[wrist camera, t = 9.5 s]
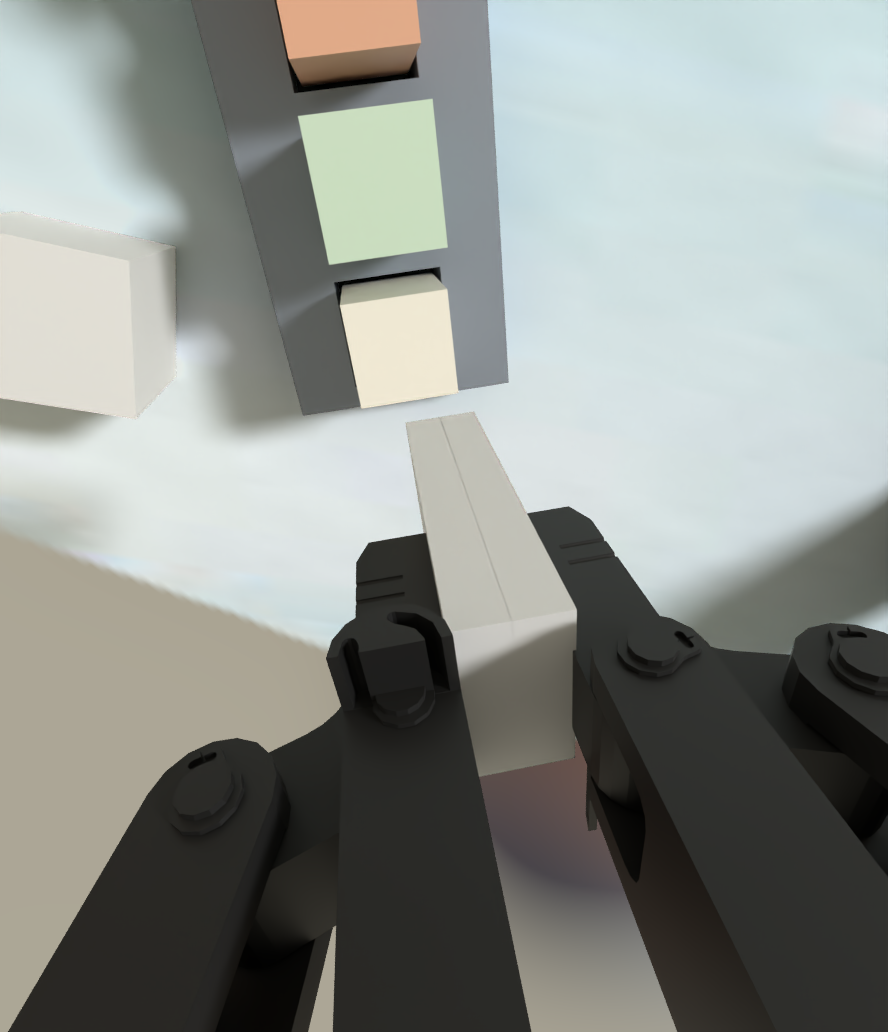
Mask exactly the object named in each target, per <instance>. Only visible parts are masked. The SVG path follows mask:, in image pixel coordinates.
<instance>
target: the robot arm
mask: <svg viewBox="0 0 888 1032" xmlns="http://www.w3.org/2000/svg"><path fill="white" fill-rule="evenodd" d="M406 429H407V435H408V441H409V447H410V453H411V459H412V465H413V471H414V477H415V483H416V489H417V495H418V501H419V507H420V513H421V519H422V525H423V531H424V533H423V534H417V535H411V536H405V537H400V538H394V539H388V540H382V541H376V542H371V543H368V545H367V546H366V548H365V550H364V551H363V553H362V554H361V556H360V557H359V559H358V561H357V562H356V585H357V587H356V604H357V605H356V618H355V619H353V620H352V621H350V622H349V623H347V624H346V625H345V626H344V627H343V628H342V629H341V630H340V632H339V633H338V634H337V635H336V636H335V637H334V638H333V640H332V642H331V645H330V648H329V651H328V654H327V657H326V660H327V663H328V666H329V669H330V672H331V676H332V678H333V681H334V685H335V688H336V691H337V694H338V697H339V700H340V703H341V707H340V709H339V710H338V711H337V712H336V713H335V714H334V715H333V716H332V717H331V718H330V719H329V720H327V721H326V722H325V723H324V724H323V725H321V726H320V727H318V728H316V729H315V730H313V731H311V732H310V733H308V734H306V735H304V736H302V737H300V738H298V739H296V740H294V741H292V742H290V743H288V744H286V745H284V746H282V747H279V748H278V749H275V750H274V751H272V752H269V753H268V752H267V751H266V750H265V749H264V748H263V747H261V746H260V745H259V744H258V743H257V742H252V741H248V740H243V739H239V738H235V739H228V740H222V741H216V742H212V743H210V744H208V745H205V746H203V747H201V748H199V749H197V750H195V751H192V752H190V753H188V754H187V755H186V756H185V757H183V758H182V759H181V760H180V761H178V762H177V763H176V764H174V765H173V766H172V767H171V768H169V769H168V770H167V771H166V772H165V773H164V774H163V775H162V777H161V778H160V779H159V781H158V782H157V783H156V785H155V786H154V787H153V788H152V790H151V791H150V792H149V793H148V795H147V796H146V798H145V800H144V801H143V803H142V805H141V807H140V809H139V810H138V812H137V814H136V815H135V817H134V818H133V820H132V822H131V824H130V825H129V827H128V829H127V830H126V832H125V834H124V835H123V837H122V839H121V841H120V842H119V844H118V846H117V847H116V849H115V851H114V853H113V854H112V856H111V858H110V859H109V861H108V863H107V864H106V866H105V868H104V870H103V871H102V873H101V875H100V876H99V878H98V880H97V881H96V883H95V885H94V887H93V888H92V890H91V892H90V894H89V895H88V897H87V898H86V900H85V902H84V904H83V905H82V907H81V909H80V911H79V912H78V914H77V916H76V917H75V919H74V920H73V922H72V924H71V926H70V927H69V929H68V931H67V932H66V934H65V936H64V937H63V939H62V941H61V943H60V944H59V946H58V948H57V949H56V951H55V953H54V955H53V956H52V958H51V960H50V961H49V963H48V965H47V966H46V968H45V970H44V972H43V973H42V975H41V977H40V978H39V980H38V982H37V984H36V985H35V987H34V989H33V990H32V992H31V994H30V995H29V997H28V999H27V1001H26V1002H25V1004H24V1006H23V1007H22V1009H21V1011H20V1012H19V1014H18V1016H17V1017H16V1019H15V1021H14V1023H13V1024H12V1026H11V1028H10V1029H9V1031H8V1032H308V1030H309V1025H310V1021H311V1017H312V1013H313V1009H314V1004H315V1000H316V996H317V992H318V988H319V983H320V979H321V975H322V970H323V966H324V962H325V958H326V954H327V949H328V945H329V941H330V937H331V933H332V929H333V927H334V926H336V951H335V981H334V982H335V983H334V1012H333V1032H531V1028H530V1023H529V1018H528V1013H527V1008H526V1004H525V999H524V994H523V989H522V984H521V979H520V975H519V970H518V965H517V960H516V955H515V950H514V945H513V941H512V935H511V930H510V926H509V921H508V916H507V911H506V906H505V902H504V896H503V891H502V887H501V882H500V877H499V873H498V867H497V862H496V858H495V852H494V848H493V843H492V838H491V833H490V828H489V823H488V819H487V814H486V809H485V804H484V799H483V794H482V789H481V784H480V780H479V777H480V776H485V775H490V774H495V773H500V772H505V771H510V770H516V769H521V768H526V767H531V766H536V765H541V764H546V763H552V762H557V761H561V760H567V759H572V758H575V736H576V738H577V741H578V743H579V746H580V748H581V750H582V753H583V756H584V758H585V761H586V763H587V791H586V793H587V794H586V818H587V825H588V830H589V831H591V830H596V829H597V819H598V822H599V824H600V827H601V830H602V832H603V835H604V838H605V840H606V843H607V846H608V848H609V851H610V854H611V856H612V859H613V862H614V864H615V867H616V870H617V872H618V875H619V878H620V880H621V883H622V886H623V888H624V891H625V894H626V896H627V899H628V902H629V904H630V907H631V910H632V912H633V915H634V917H635V920H636V923H637V926H638V928H639V931H640V934H641V936H642V939H643V941H644V944H645V947H646V950H647V952H648V955H649V957H650V960H651V963H652V966H653V968H654V971H655V974H656V976H657V979H658V981H659V984H660V986H661V990H662V992H663V995H664V998H665V1000H666V1003H667V1006H668V1008H669V1011H670V1013H671V1016H672V1019H673V1021H674V1024H675V1027H676V1029H677V1032H888V634H886V633H884V632H880V631H877V630H873V629H869V628H865V627H862V626H858V625H849V624H832V623H829V624H824V625H820V626H815V627H811V628H808V629H807V630H805V631H804V632H803V633H802V634H800V635H799V636H798V637H797V638H796V639H795V642H794V645H793V649H792V652H791V655H783V654H768V653H754V652H739V651H731V650H724V649H717V648H713V647H710V645H709V644H708V643H707V642H706V641H705V640H704V639H703V638H702V637H701V636H699V635H698V634H697V633H696V632H695V631H694V630H693V629H692V628H690V627H688V626H686V625H684V624H682V623H680V622H677V621H675V620H673V619H671V618H667V617H662V616H659V615H658V613H657V612H656V611H655V609H654V608H653V606H652V605H651V604H650V602H649V601H648V599H647V598H646V596H645V595H644V594H643V592H642V591H641V589H640V588H639V587H638V585H637V584H636V582H635V581H634V580H633V578H632V577H631V575H630V574H629V573H628V571H627V570H626V568H625V567H624V565H623V564H622V563H621V561H620V560H619V558H618V557H615V555H614V551H613V550H612V549H611V547H610V546H609V544H608V543H607V542H606V541H604V537H603V536H602V534H601V533H600V532H599V530H598V529H597V527H596V526H595V525H594V523H593V522H592V520H591V519H589V518H587V517H586V516H584V515H582V514H581V513H579V512H577V511H576V510H574V509H572V508H570V507H569V506H568V507H562V508H557V509H551V510H545V511H539V512H533V513H526V511H525V509H524V507H523V505H522V503H521V501H520V499H519V497H518V495H517V494H516V492H515V490H514V488H513V486H512V484H511V482H510V480H509V478H508V476H507V474H506V472H505V471H504V469H503V467H502V465H501V463H500V461H499V459H498V457H497V455H496V453H495V451H494V449H493V448H492V446H491V444H490V442H489V440H488V438H487V436H486V434H485V432H484V430H483V428H482V426H481V424H480V423H479V421H478V419H477V417H476V415H475V413H474V412H469V413H463V414H457V415H450V416H444V417H438V418H432V419H426V420H419V421H413V422H407V423H406Z"/></svg>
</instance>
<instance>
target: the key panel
mask: <svg viewBox="0 0 888 1032" xmlns="http://www.w3.org/2000/svg"><path fill="white" fill-rule="evenodd" d="M191 2H192V5H193V9H194V13H195V17H196V20H197V24H198V28H199V31H200V35H201V39H202V43H203V46H204V50H205V54H206V57H207V61H208V65H209V68H210V72H211V76H212V80H213V83H214V87H215V91H216V94H217V98H218V102H219V106H220V109H221V113H222V117H223V120H224V124H225V128H226V132H227V135H228V139H229V143H230V146H231V150H232V154H233V157H234V161H235V165H236V169H237V172H238V176H239V180H240V183H241V187H242V191H243V195H244V198H245V202H246V206H247V209H248V213H249V217H250V220H251V224H252V228H253V232H254V235H255V239H256V243H257V246H258V250H259V254H260V258H261V261H262V265H263V269H264V272H265V276H266V280H267V284H268V287H269V291H270V295H271V298H272V302H273V306H274V309H275V313H276V317H277V321H278V324H279V328H280V332H281V335H282V339H283V343H284V347H285V350H286V354H287V358H288V361H289V365H290V369H291V373H292V376H293V380H294V384H295V387H296V391H297V395H298V398H299V402H300V406H301V410H302V413H303V416H305V415H311V414H317V413H323V412H329V411H336V410H342V409H348V408H354V407H360V406H361V404H360V399H359V395H358V390H357V385H356V380H355V375H354V371H353V366H352V361H351V356H350V351H349V347H348V342H347V337H346V332H345V327H344V323H343V318H342V313H341V308H340V301H341V297H340V292H339V287H338V282H340V281H347V280H354V279H360V278H367V277H374V276H381V275H387V274H394V273H401V272H408V271H414V270H421V269H428V268H433V274H434V276H435V277H436V278H437V279H438V280H439V281H440V282H441V283H442V284H443V285H444V286H445V287H446V288H447V291H448V300H449V310H450V319H451V328H452V338H453V347H454V356H455V366H456V375H457V385H458V391H459V390H465V389H471V388H478V387H484V386H490V385H496V384H502V383H508V364H507V346H506V328H505V310H504V292H503V274H502V256H501V238H500V220H499V202H498V184H497V166H496V148H495V130H494V112H493V94H492V76H491V58H490V40H489V22H488V4H487V0H417V10H418V19H419V28H420V38H421V44H420V46H419V49H418V51H417V53H416V55H415V58H414V60H413V62H412V64H411V67H410V69H409V71H410V79H404V80H396V81H388V82H380V83H372V84H364V85H356V86H348V87H341V88H333V89H325V90H317V91H309V92H301V93H298V88H297V83H296V78H295V73H294V69H293V67H292V65H291V63H290V61H289V58H288V53H287V49H286V44H285V39H284V34H283V29H282V24H281V20H280V15H279V10H278V5H277V0H191ZM426 99H433V108H434V118H435V128H436V137H437V147H438V157H439V167H440V176H441V186H442V196H443V206H444V215H445V225H446V235H447V245H448V248H441V249H434V250H427V251H420V252H413V253H407V254H400V255H393V256H386V257H379V258H372V259H366V260H359V261H352V262H345V263H338V264H331V265H329V262H328V257H327V252H326V247H325V243H324V238H323V233H322V228H321V224H320V219H319V214H318V209H317V205H316V200H315V195H314V190H313V186H312V181H311V176H310V171H309V167H308V162H307V157H306V152H305V148H304V143H303V138H302V133H301V128H300V124H299V119H298V116H303V115H311V114H318V113H326V112H334V111H342V110H349V109H357V108H365V107H372V106H380V105H388V104H396V103H403V102H411V101H419V100H426Z"/></svg>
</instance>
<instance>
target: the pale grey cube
mask: <svg viewBox="0 0 888 1032" xmlns="http://www.w3.org/2000/svg"><path fill="white" fill-rule="evenodd" d="M175 378H176V246H171V245H167V244H162V243H158V242H154V241H149V240H145V239H140V238H136V237H132V236H127V235H123V234H118V233H114V232H110V231H105V230H101V229H96V228H92V227H88V226H83V225H79V224H74V223H70V222H66V221H61V220H57V219H52V218H48V217H44V216H39V215H35V214H30V213H26V212H6V213H0V398H2V399H8V400H15V401H21V402H28V403H34V404H41V405H47V406H54V407H60V408H67V409H73V410H80V411H86V412H93V413H99V414H106V415H112V416H119V417H125V418H131V419H137V417H138V416H139V415H140V414H141V413H142V412H143V411H144V410H145V409H146V408H147V407H148V406H149V405H150V404H151V403H152V402H153V401H154V400H155V399H156V398H157V397H158V396H159V395H160V393H161V392H162V391H163V390H164V389H165V388H166V387H167V386H168V385H169V384H170V383H171V382H172V381H173V380H174V379H175Z"/></svg>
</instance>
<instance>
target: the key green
mask: <svg viewBox="0 0 888 1032" xmlns="http://www.w3.org/2000/svg"><path fill="white" fill-rule="evenodd" d="M298 119H299V124H300V128H301V133H302V138H303V143H304V148H305V152H306V157H307V162H308V167H309V171H310V176H311V181H312V186H313V190H314V195H315V200H316V205H317V209H318V214H319V219H320V224H321V228H322V233H323V238H324V243H325V247H326V252H327V257H328V262H329V265H331V264H338V263H345V262H352V261H359V260H366V259H372V258H379V257H386V256H393V255H400V254H407V253H413V252H420V251H427V250H434V249H441V248H448V245H447V235H446V225H445V215H444V206H443V196H442V186H441V176H440V167H439V157H438V147H437V137H436V128H435V118H434V108H433V99H426V100H419V101H411V102H403V103H396V104H388V105H380V106H372V107H365V108H357V109H349V110H342V111H334V112H326V113H318V114H311V115H303V116H298Z"/></svg>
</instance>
